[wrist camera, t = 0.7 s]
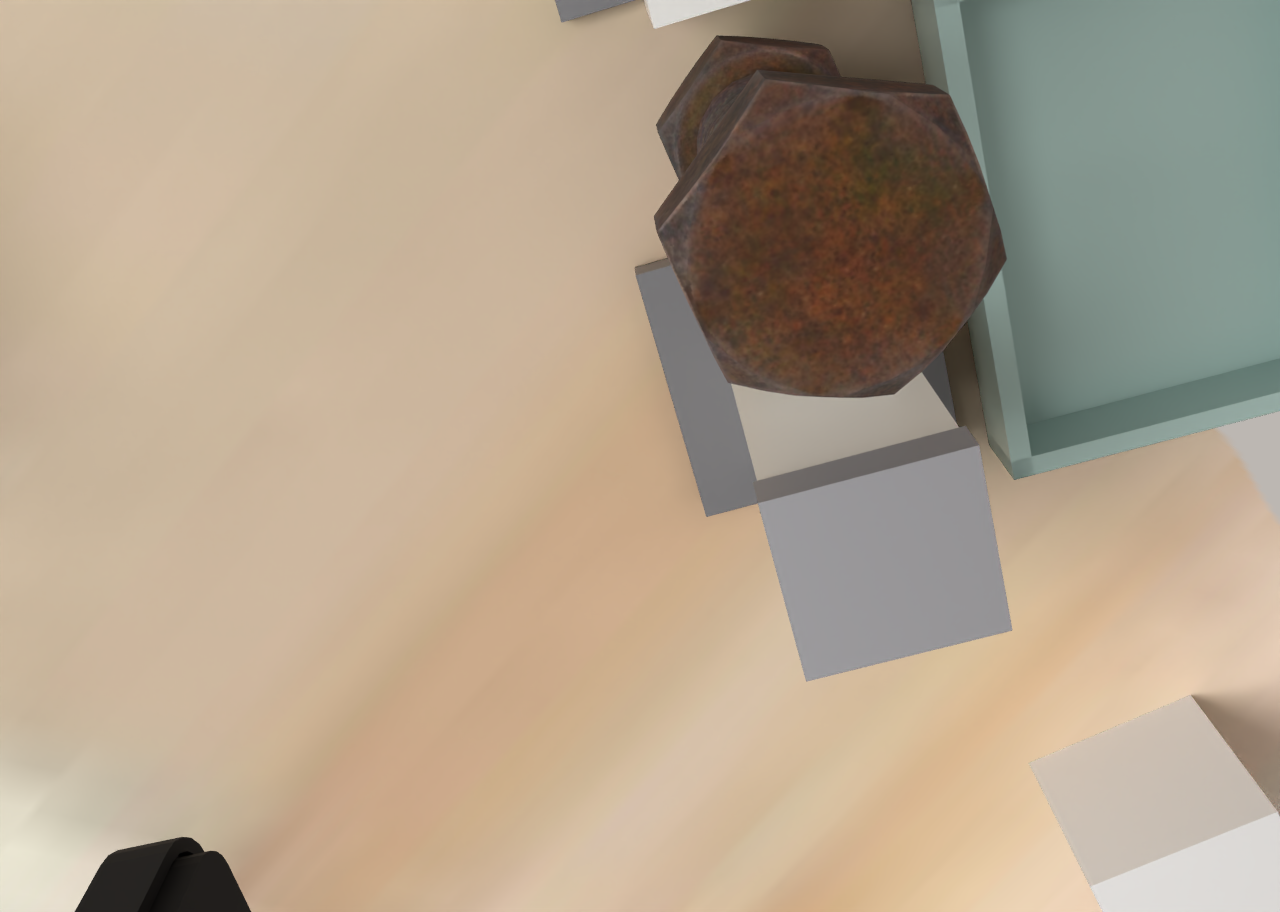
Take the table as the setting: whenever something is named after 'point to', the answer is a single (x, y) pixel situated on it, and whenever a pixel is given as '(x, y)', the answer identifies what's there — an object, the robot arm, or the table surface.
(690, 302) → the bolt
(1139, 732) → the light grey cube
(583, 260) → the table surface
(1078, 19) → the tray
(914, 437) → the block
